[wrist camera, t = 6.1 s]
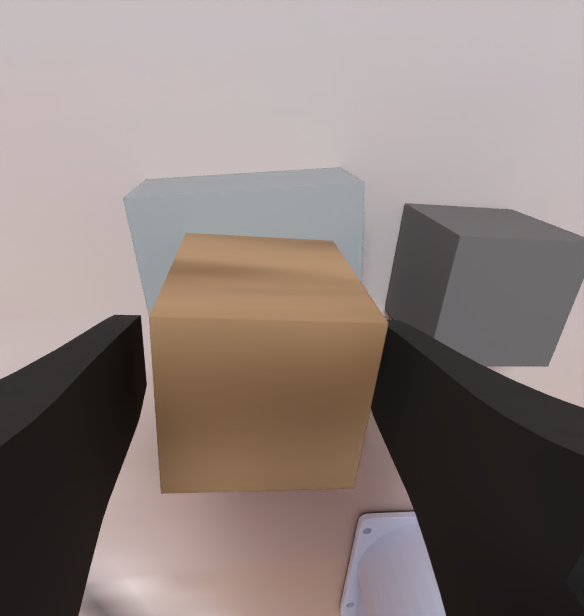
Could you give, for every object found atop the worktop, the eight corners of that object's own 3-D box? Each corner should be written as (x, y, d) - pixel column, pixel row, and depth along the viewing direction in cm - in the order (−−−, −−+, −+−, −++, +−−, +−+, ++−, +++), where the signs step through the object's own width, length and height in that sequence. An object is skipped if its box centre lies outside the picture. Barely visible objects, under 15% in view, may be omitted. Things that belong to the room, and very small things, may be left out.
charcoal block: (481, 310, 19) (547, 366, 15) (385, 308, 18) (426, 366, 14) (512, 209, 17) (598, 242, 13) (405, 203, 16) (460, 235, 12)
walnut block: (317, 362, 15) (353, 488, 10) (188, 360, 14) (160, 493, 9) (332, 240, 13) (388, 323, 8) (185, 232, 12) (149, 316, 8)
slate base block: (338, 330, 19) (358, 376, 15) (178, 346, 18) (166, 396, 15) (339, 166, 16) (364, 182, 12) (147, 178, 15) (123, 198, 12)
